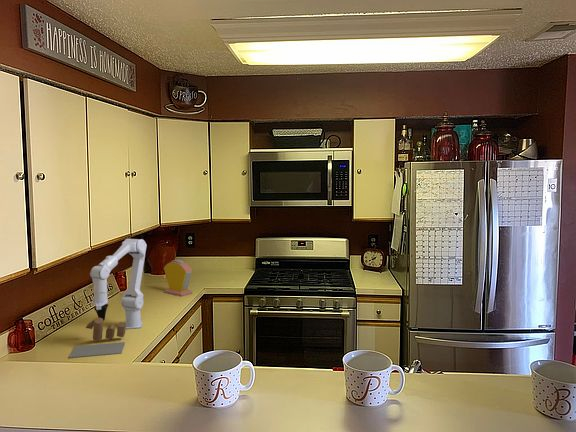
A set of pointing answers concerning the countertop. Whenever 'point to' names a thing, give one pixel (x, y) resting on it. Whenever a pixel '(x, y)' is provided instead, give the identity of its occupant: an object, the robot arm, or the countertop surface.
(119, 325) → the wooden block set
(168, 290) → the yellow arched block
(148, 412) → the countertop surface
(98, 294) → the robot arm
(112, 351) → the mat
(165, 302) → the countertop surface
